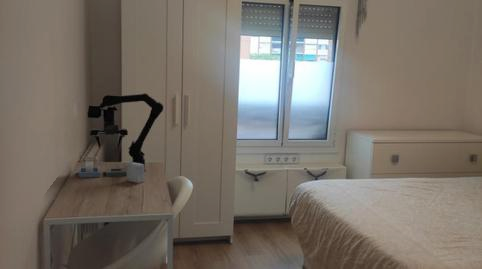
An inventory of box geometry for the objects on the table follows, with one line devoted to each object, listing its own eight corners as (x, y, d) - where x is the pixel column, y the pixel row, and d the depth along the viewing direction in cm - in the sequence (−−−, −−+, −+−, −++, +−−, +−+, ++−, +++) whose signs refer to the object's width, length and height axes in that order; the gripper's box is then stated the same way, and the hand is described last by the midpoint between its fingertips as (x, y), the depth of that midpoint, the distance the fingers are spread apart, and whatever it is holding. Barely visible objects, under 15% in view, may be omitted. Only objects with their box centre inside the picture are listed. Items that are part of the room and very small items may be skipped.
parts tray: (99, 171, 230) (99, 166, 230) (100, 177, 219) (100, 172, 219) (79, 172, 227) (78, 167, 227) (78, 177, 216) (78, 172, 215)
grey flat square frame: (125, 171, 234) (125, 167, 233) (126, 175, 224) (126, 171, 224) (105, 171, 230) (105, 168, 230) (106, 176, 221) (106, 172, 221)
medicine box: (144, 181, 214) (144, 164, 213) (138, 183, 210) (138, 165, 209) (133, 179, 218) (133, 161, 217) (126, 180, 214) (126, 163, 213)
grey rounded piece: (93, 172, 225) (93, 157, 224) (93, 174, 222) (93, 158, 221) (85, 172, 224) (85, 157, 223) (85, 174, 220) (85, 159, 219)
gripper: (90, 120, 219) (90, 151, 221) (128, 120, 226) (128, 150, 228) (90, 118, 230) (90, 147, 232) (126, 118, 236) (126, 146, 238)
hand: (109, 148), depth 232 cm, fingers open, 9 cm apart
